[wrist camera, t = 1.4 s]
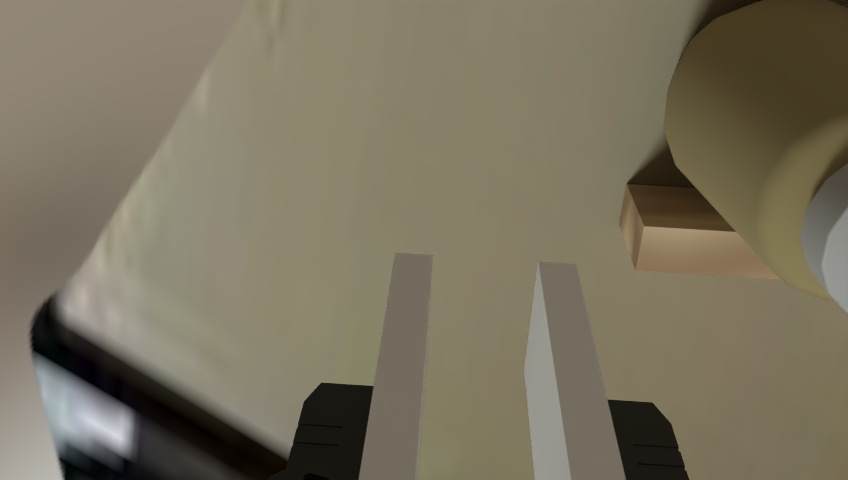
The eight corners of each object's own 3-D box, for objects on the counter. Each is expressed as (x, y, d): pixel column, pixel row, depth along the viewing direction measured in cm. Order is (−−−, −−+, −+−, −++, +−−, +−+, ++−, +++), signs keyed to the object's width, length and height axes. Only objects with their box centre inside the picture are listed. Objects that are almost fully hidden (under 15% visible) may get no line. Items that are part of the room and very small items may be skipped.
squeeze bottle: (604, 106, 34) (723, 377, 18) (738, -69, 30) (1034, 76, 14) (752, 201, 35) (981, 526, 20) (895, 46, 32) (1314, 289, 16)
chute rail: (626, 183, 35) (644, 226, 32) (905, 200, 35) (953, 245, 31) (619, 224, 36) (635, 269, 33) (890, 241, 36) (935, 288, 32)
